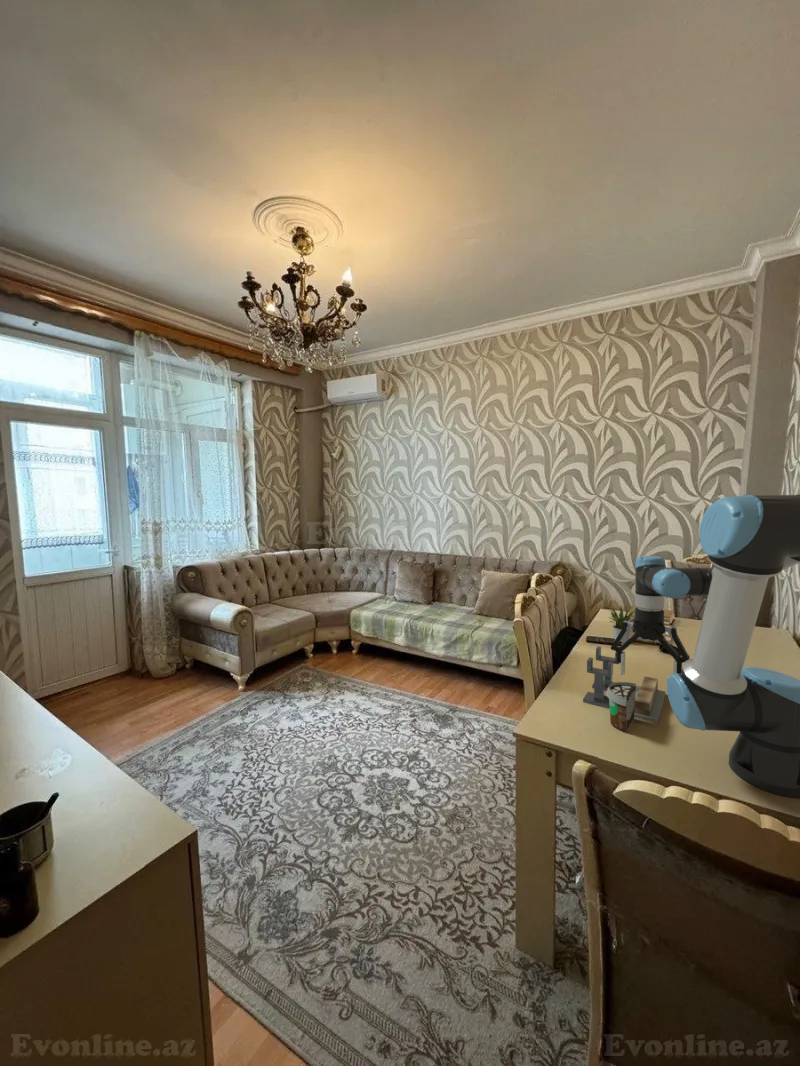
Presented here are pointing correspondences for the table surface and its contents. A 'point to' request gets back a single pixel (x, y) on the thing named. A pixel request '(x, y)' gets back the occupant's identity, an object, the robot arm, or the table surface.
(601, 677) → the post near
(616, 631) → the house plant
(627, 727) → the food container
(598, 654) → the post far
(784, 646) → the table surface
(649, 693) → the rail
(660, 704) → the mat
